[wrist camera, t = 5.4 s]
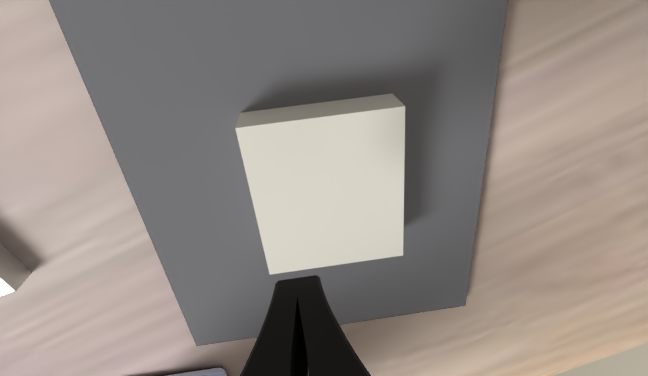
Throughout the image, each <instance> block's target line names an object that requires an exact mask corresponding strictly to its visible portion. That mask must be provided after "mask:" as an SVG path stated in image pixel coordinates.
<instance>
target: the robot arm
mask: <svg viewBox="0 0 648 376" xmlns="http://www.w3.org/2000/svg"><path fill="white" fill-rule="evenodd" d="M308 372H309V376H371V375H370V373H369V372H368V371H367V369H366V368H365V366H364V365H363V363H362V362H361V360H360V359H359V357H358V356H357V354H356V353H355V351H354V350H353V348H352V346H351V345H350V343H349V341H348V340H347V338H346V336H345V335H344V333H343V331H342V329H341V327H340V326H339V324H338V322H337V320H336V318H335V316H334V314H333V312H332V310H331V308H330V306H329V303H328V301H327V299H326V296H325V294H324V291H323V288H322V284H321V280H320V277H319V276H317V275H313V276H306V277H299V278H293V279H286V280H279V281H278V282H277V283H276V284H275V288H274V292H273V296H272V299H271V303H270V306H269V309H268V312H267V315H266V318H265V320H264V323H263V325H262V328H261V330H260V333H259V336H258V338H257V340H256V343H255V345H254V347H253V349H252V352H251V354H250V356H249V358H248V360H247V363H246V365H245V367H244V369H243V371H242V373H241V375H240V376H308ZM166 376H227V374H226V372H225V370H224V369H222V368H212V369H206V370H199V371H193V372H186V373H180V374H173V375H166Z"/></svg>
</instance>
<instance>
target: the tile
mask: <svg viewBox="0 0 648 376" xmlns="http://www.w3.org/2000/svg"><path fill="white" fill-rule="evenodd" d="M235 129H236V133H237V138H238V142H239V146H240V150H241V155H242V159H243V163H244V168H245V172H246V176H247V180H248V185H249V189H250V193H251V197H252V202H253V206H254V210H255V214H256V219H257V223H258V227H259V232H260V236H261V240H262V244H263V249H264V253H265V257H266V261H267V266H268V270H269V274H270V275H271V274H278V273H285V272H292V271H299V270H306V269H313V268H320V267H326V266H333V265H340V264H347V263H354V262H361V261H368V260H375V259H382V258H389V257H396V256H403V231H404V161H405V105H404V104H403V103H402V102H401V101H400V100H399V99H398V98H397V97H396V96H395V95H394V94H393V93H392V94H384V95H376V96H368V97H360V98H352V99H344V100H336V101H329V102H321V103H313V104H305V105H297V106H289V107H281V108H274V109H266V110H258V111H250V112H242V113H240V115H239V118H238V121H237V124H236V127H235Z"/></svg>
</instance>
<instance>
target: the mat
mask: <svg viewBox="0 0 648 376" xmlns="http://www.w3.org/2000/svg"><path fill="white" fill-rule="evenodd" d="M49 2H50V4H51V6H52V9H53V11H54V13H55V16H56V18H57V20H58V23H59V25H60V27H61V30H62V32H63V34H64V37H65V39H66V41H67V44H68V46H69V48H70V51H71V53H72V55H73V58H74V60H75V62H76V65H77V67H78V69H79V72H80V74H81V77H82V79H83V81H84V84H85V86H86V88H87V91H88V93H89V95H90V98H91V100H92V102H93V105H94V107H95V109H96V112H97V114H98V116H99V119H100V121H101V123H102V126H103V128H104V130H105V133H106V135H107V137H108V140H109V142H110V144H111V147H112V149H113V151H114V154H115V156H116V158H117V161H118V163H119V165H120V168H121V170H122V172H123V175H124V177H125V180H126V182H127V184H128V187H129V189H130V191H131V194H132V196H133V198H134V201H135V203H136V205H137V208H138V210H139V212H140V215H141V217H142V219H143V222H144V224H145V226H146V229H147V231H148V233H149V236H150V238H151V240H152V243H153V245H154V247H155V250H156V252H157V254H158V257H159V259H160V261H161V264H162V266H163V268H164V271H165V273H166V275H167V278H168V280H169V282H170V285H171V287H172V290H173V292H174V294H175V297H176V299H177V301H178V304H179V306H180V308H181V311H182V313H183V315H184V318H185V320H186V322H187V325H188V327H189V329H190V332H191V334H192V336H193V339H194V341H195V343H196V346H200V345H207V344H214V343H220V342H227V341H233V340H240V339H247V338H253V337H258V336H259V333H260V330H261V328H262V325H263V323H264V320H265V318H266V315H267V312H268V309H269V306H270V303H271V299H272V296H273V292H274V288H275V284H276V283H277V282H278V281H279V280H286V279H293V278H299V277H306V276H313V275H317V276H319V277H320V280H321V284H322V288H323V291H324V294H325V296H326V299H327V301H328V303H329V306H330V308H331V310H332V312H333V314H334V316H335V318H336V320H337V322H338V324H339V325H340V324H346V323H353V322H360V321H366V320H373V319H380V318H386V317H393V316H400V315H406V314H413V313H420V312H426V311H433V310H439V309H446V308H453V307H459V306H466V299H467V291H468V284H469V277H470V270H471V263H472V255H473V248H474V241H475V234H476V227H477V220H478V212H479V205H480V198H481V191H482V184H483V176H484V169H485V162H486V155H487V148H488V141H489V133H490V126H491V119H492V112H493V105H494V98H495V90H496V83H497V76H498V69H499V62H500V54H501V47H502V40H503V33H504V26H505V19H506V11H507V4H508V0H49ZM392 93H393V94H394V95H395V96H396V97H397V98H398V99H399V100H400V101H401V102H402V103H403V104H404V105H405V161H404V231H403V256H396V257H389V258H382V259H375V260H368V261H361V262H354V263H347V264H340V265H333V266H326V267H320V268H313V269H306V270H299V271H292V272H285V273H278V274H271V275H270V274H269V270H268V266H267V261H266V257H265V253H264V249H263V244H262V240H261V236H260V232H259V227H258V223H257V219H256V214H255V210H254V206H253V202H252V197H251V193H250V189H249V185H248V180H247V176H246V172H245V168H244V163H243V159H242V155H241V150H240V146H239V142H238V138H237V133H236V129H235V127H236V124H237V121H238V118H239V115H240V113H242V112H250V111H258V110H266V109H274V108H281V107H289V106H297V105H305V104H313V103H321V102H329V101H336V100H344V99H352V98H360V97H368V96H376V95H384V94H392Z"/></svg>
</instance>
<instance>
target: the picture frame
mask: <svg viewBox="0 0 648 376" xmlns="http://www.w3.org/2000/svg"><path fill="white" fill-rule="evenodd" d="M31 273H32V272H31V271H29V270H28V269H27V268H26V267H25V266H24V265H23V264H22V263H21V262H20V261H18V260H17V259H16V258H15V257H14V256H13V255H12V254H11V253H10V252H9V251H7V250H6V249H5V248H4V247H3V246H2V245H1V244H0V297H1V296H4V295H6V294H9V293H12V292H14V291H16V290H17V289H18V288H19V287H20V286H21V285H22V283H23V282H24V281H25V280H26V279H27V278H28V276H29V275H30V274H31Z"/></svg>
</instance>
